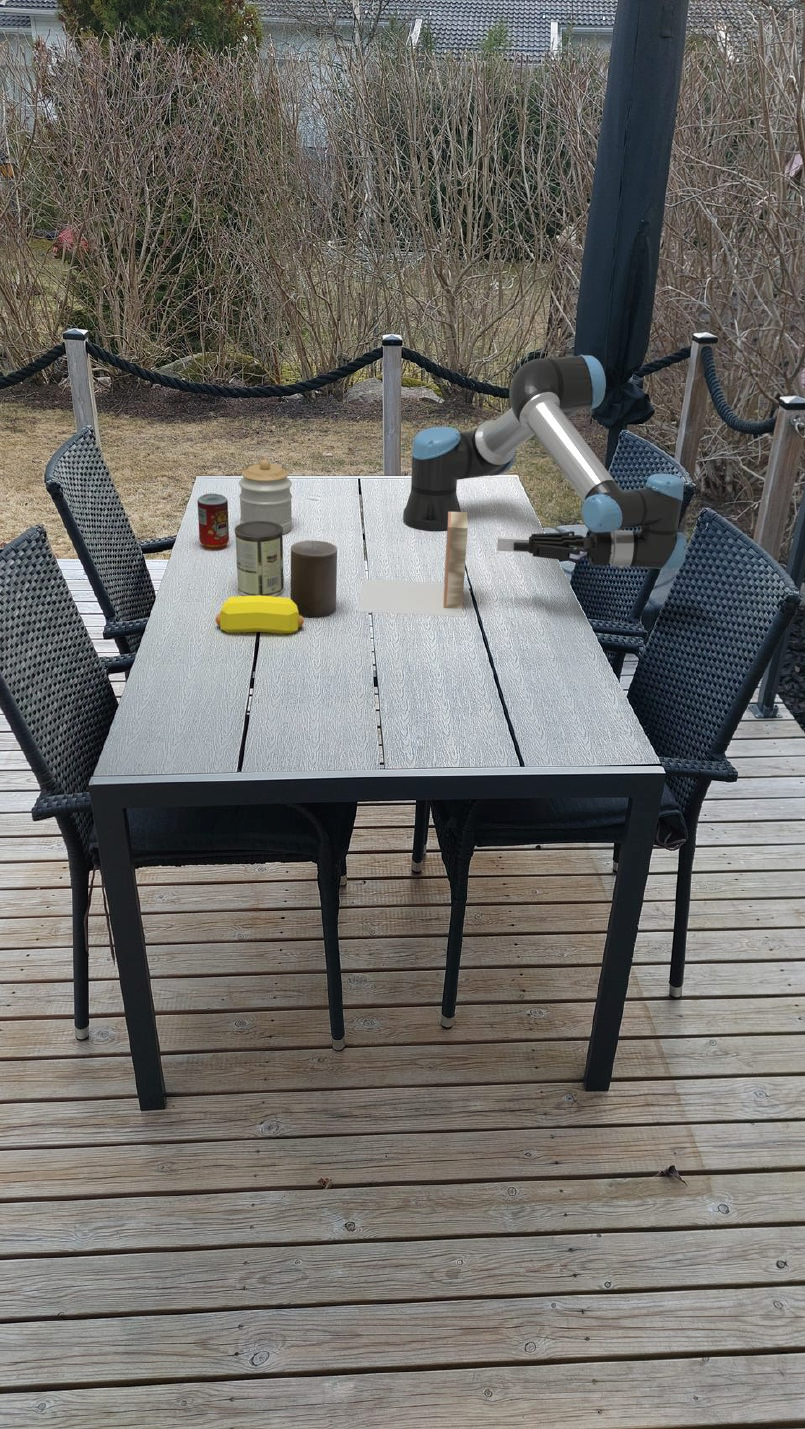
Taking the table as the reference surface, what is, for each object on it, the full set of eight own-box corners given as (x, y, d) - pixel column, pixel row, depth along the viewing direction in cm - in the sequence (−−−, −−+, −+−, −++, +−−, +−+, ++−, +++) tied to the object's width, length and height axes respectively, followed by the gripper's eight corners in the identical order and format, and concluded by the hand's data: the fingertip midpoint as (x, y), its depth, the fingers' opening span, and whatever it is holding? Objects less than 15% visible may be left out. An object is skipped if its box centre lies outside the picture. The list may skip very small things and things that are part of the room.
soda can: (215, 553, 262) (213, 503, 256) (193, 547, 265) (190, 497, 259) (235, 545, 267) (233, 496, 261) (213, 539, 270) (211, 490, 264)
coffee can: (252, 577, 249) (250, 517, 243) (292, 586, 246) (291, 525, 239) (227, 593, 241) (225, 531, 234) (268, 602, 238) (267, 540, 231)
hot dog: (217, 620, 229) (213, 636, 222) (216, 590, 226) (211, 605, 219) (305, 622, 230) (303, 637, 223) (304, 592, 227) (303, 607, 220)
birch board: (461, 590, 245) (466, 512, 236) (462, 608, 236) (467, 528, 227) (443, 590, 245) (448, 511, 236) (443, 608, 236) (448, 527, 228)
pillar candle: (301, 621, 230) (301, 552, 222) (283, 603, 237) (283, 536, 230) (343, 614, 234) (345, 546, 227) (325, 597, 241) (326, 531, 234)
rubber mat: (461, 587, 249) (461, 584, 248) (462, 619, 233) (462, 616, 233) (363, 582, 249) (363, 579, 249) (357, 615, 233) (357, 611, 233)
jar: (302, 527, 280) (302, 458, 271) (270, 541, 270) (269, 470, 262) (262, 516, 286) (260, 449, 277) (229, 530, 276) (226, 460, 268)
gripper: (611, 576, 229) (497, 571, 230) (603, 554, 241) (495, 549, 241) (616, 541, 226) (500, 536, 226) (607, 521, 237) (497, 516, 237)
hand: (497, 543), depth 233 cm, fingers closed
